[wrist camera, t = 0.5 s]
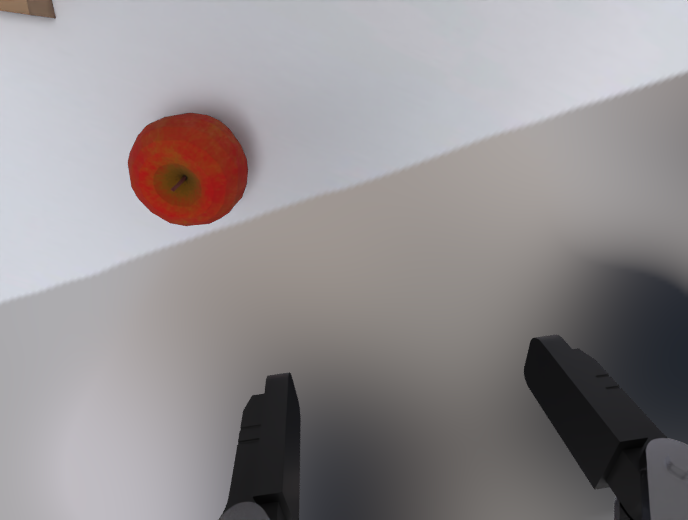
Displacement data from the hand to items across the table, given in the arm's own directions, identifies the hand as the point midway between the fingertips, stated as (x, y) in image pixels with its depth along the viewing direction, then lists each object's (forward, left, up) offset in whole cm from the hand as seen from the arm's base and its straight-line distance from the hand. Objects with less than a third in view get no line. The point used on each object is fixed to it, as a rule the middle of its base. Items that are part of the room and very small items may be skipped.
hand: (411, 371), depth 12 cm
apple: (0, -12, -27) cm, 30 cm away
